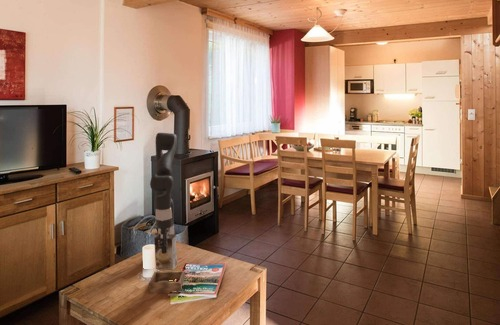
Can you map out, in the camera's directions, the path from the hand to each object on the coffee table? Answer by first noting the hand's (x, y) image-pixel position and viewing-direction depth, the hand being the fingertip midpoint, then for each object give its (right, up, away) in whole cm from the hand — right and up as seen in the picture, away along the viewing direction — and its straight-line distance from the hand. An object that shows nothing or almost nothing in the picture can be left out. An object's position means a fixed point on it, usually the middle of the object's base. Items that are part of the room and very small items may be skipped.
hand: (165, 249), depth 177 cm
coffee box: (0, -9, +2) cm, 9 cm away
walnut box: (0, -19, +3) cm, 19 cm away
